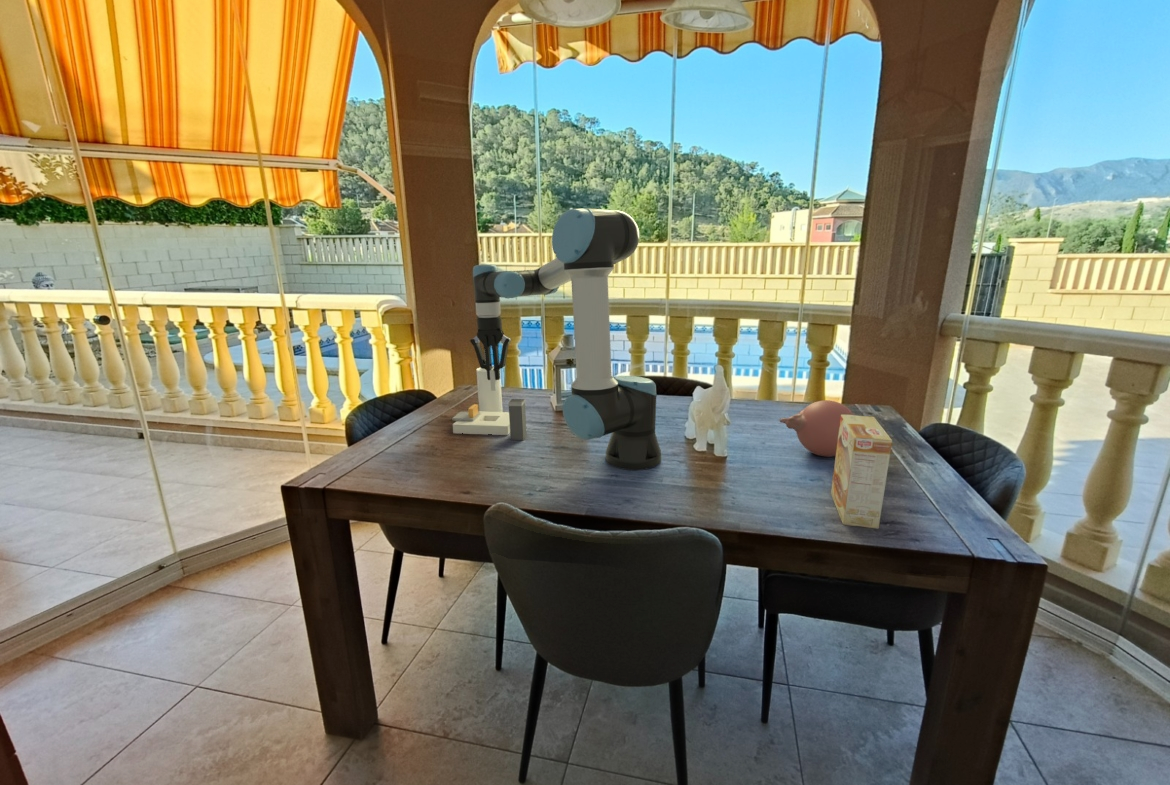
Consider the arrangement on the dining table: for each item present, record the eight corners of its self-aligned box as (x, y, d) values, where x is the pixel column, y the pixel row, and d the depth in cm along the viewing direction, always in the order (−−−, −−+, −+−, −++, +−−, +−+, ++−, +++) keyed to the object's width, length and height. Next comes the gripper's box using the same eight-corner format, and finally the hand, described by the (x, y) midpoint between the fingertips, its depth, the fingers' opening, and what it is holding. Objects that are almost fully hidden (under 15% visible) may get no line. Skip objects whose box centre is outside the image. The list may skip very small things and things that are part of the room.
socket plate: (519, 420, 172) (519, 412, 171) (508, 435, 159) (507, 426, 158) (468, 419, 174) (468, 411, 174) (453, 433, 161) (452, 424, 160)
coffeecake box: (829, 492, 118) (839, 413, 113) (863, 496, 116) (875, 416, 111) (841, 524, 104) (853, 436, 99) (879, 529, 102) (894, 439, 97)
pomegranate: (773, 441, 150) (777, 391, 146) (846, 446, 146) (852, 395, 142) (780, 461, 136) (785, 407, 132) (861, 467, 131) (869, 411, 127)
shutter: (480, 414, 169) (479, 403, 168) (473, 421, 163) (472, 409, 162) (460, 413, 170) (459, 403, 169) (452, 420, 164) (451, 409, 163)
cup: (483, 408, 187) (480, 365, 182) (505, 408, 186) (502, 366, 181) (476, 414, 179) (472, 371, 175) (498, 415, 178) (495, 371, 173)
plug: (526, 435, 158) (524, 399, 155) (523, 440, 154) (521, 403, 151) (514, 435, 158) (512, 398, 155) (510, 440, 154) (508, 402, 151)
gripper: (512, 314, 159) (517, 386, 165) (472, 315, 161) (479, 386, 167) (505, 317, 152) (511, 392, 158) (464, 317, 154) (471, 392, 160)
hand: (494, 389), depth 162 cm, fingers closed
